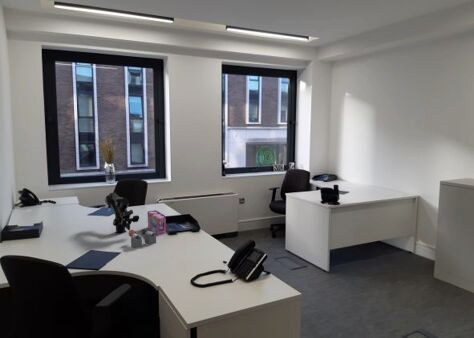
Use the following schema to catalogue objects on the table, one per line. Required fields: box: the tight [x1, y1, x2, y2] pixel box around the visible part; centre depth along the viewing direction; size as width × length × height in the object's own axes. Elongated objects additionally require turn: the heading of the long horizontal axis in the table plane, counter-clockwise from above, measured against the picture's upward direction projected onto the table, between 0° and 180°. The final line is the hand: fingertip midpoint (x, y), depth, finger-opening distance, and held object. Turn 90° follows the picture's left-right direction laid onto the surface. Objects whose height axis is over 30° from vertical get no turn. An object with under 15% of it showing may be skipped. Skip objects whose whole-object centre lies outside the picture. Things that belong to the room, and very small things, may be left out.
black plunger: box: [141, 227, 153, 236], centre depth 262 cm, size 9×5×5 cm, turn 49°
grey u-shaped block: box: [143, 230, 157, 246], centre depth 261 cm, size 6×6×8 cm
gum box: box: [146, 209, 167, 235], centre depth 291 cm, size 24×8×14 cm, turn 31°
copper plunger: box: [127, 229, 138, 238], centre depth 258 cm, size 9×5×5 cm, turn 34°
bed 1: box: [130, 234, 143, 249], centre depth 254 cm, size 6×6×8 cm
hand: (129, 230), depth 269 cm, fingers closed
